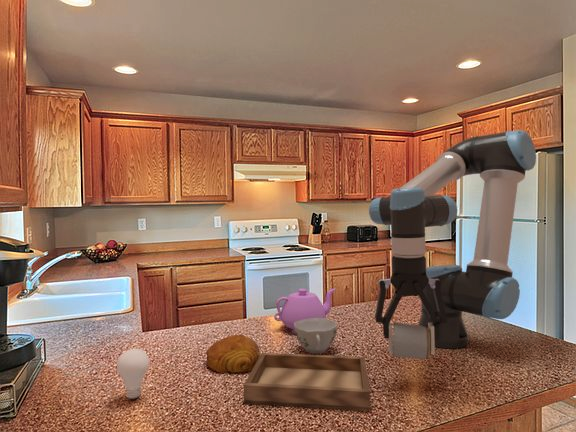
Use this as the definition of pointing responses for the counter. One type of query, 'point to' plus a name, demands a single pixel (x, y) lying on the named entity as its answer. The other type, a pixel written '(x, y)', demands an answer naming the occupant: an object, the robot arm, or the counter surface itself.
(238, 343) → the croissant
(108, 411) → the counter surface
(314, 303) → the teapot
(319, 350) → the teacup
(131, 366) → the light bulb
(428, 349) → the ceramic mug
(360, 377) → the tray
